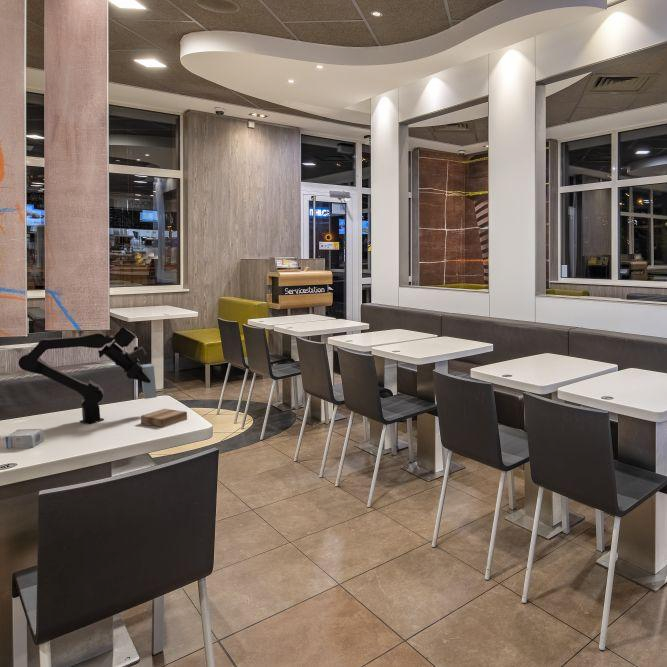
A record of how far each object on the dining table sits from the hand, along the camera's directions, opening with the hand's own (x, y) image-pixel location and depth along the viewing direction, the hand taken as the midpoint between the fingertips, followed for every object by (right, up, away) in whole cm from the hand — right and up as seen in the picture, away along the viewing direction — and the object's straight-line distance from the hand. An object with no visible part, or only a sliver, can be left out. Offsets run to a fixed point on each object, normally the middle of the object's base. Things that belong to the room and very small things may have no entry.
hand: (149, 381), depth 222 cm
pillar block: (0, -6, +1) cm, 6 cm away
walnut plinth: (+9, -15, -10) cm, 20 cm away
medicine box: (-26, -16, -35) cm, 46 cm away
